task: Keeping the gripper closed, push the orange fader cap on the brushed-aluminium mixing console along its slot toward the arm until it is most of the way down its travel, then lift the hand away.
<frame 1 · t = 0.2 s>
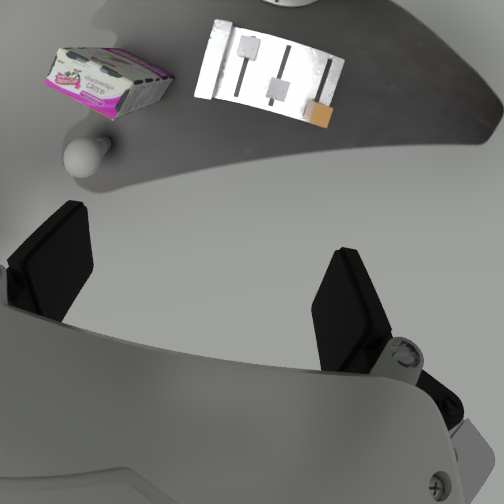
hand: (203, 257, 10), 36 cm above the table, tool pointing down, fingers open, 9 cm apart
lightbulb: (107, 142, 42), on the table
fader cap: (317, 112, 35), point 5 cm above the table, slide at 0.0 cm
console: (272, 73, 36), on the table
candy bar box: (139, 74, 36), on the table
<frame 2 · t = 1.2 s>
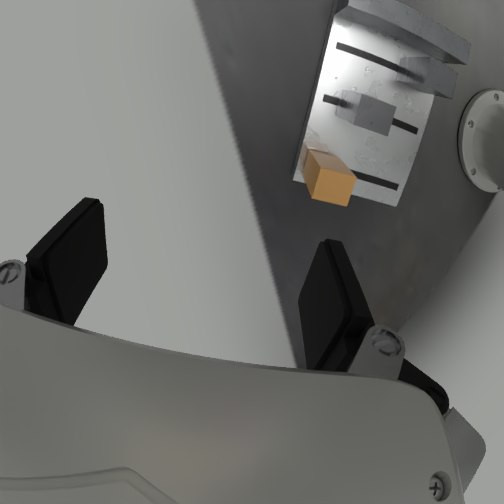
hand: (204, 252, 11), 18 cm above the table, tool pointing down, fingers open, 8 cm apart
fader cap: (327, 175, 22), point 5 cm above the table, slide at 0.0 cm
console: (369, 101, 23), on the table
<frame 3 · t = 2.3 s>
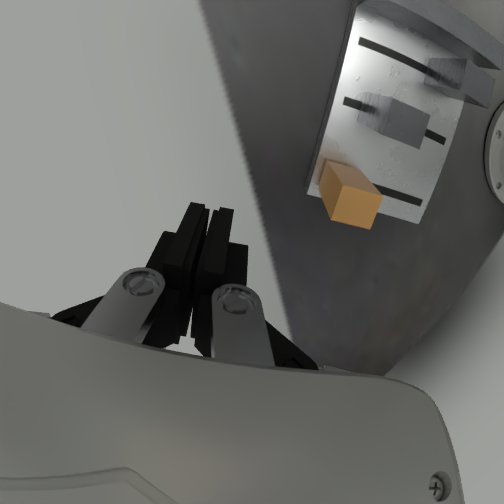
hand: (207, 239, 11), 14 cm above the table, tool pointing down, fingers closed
fader cap: (347, 191, 19), point 5 cm above the table, slide at 0.0 cm
console: (393, 106, 20), on the table
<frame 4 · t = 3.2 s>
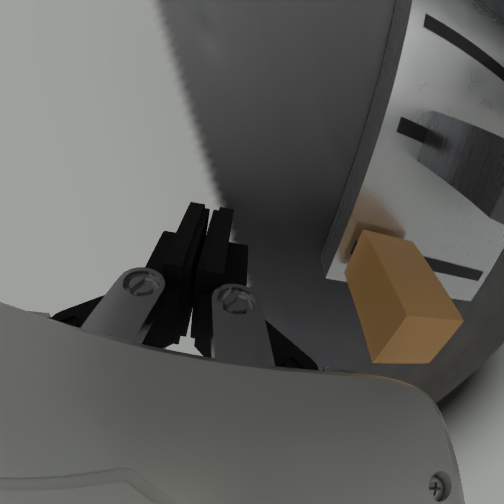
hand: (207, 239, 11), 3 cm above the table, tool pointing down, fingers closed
fader cap: (397, 293, 11), point 5 cm above the table, slide at 0.0 cm
console: (462, 133, 11), on the table
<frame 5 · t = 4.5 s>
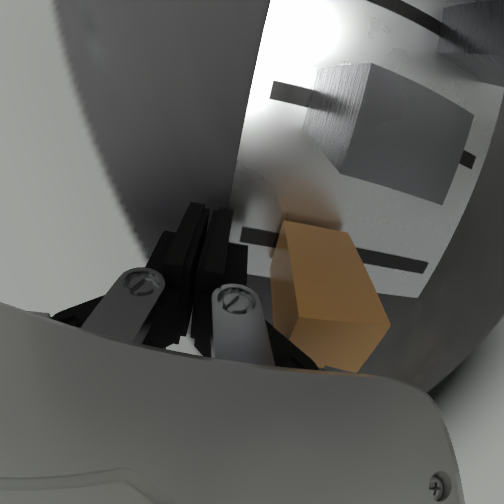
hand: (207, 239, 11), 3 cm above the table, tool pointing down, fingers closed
fader cap: (318, 291, 10), point 5 cm above the table, slide at 1.6 cm, touching gripper
console: (381, 97, 11), on the table
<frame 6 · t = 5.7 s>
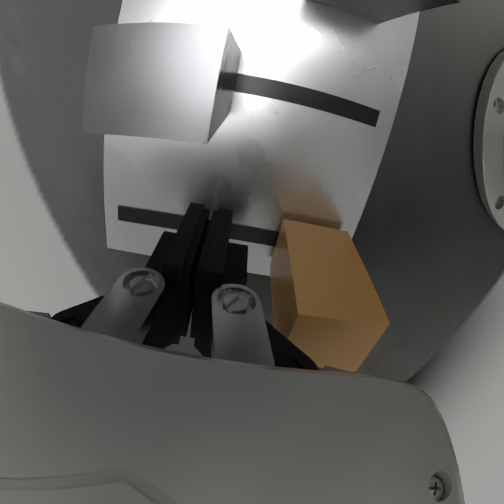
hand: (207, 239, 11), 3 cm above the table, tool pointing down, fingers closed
fader cap: (318, 289, 10), point 5 cm above the table, slide at 7.1 cm, touching gripper
console: (257, 62, 10), on the table
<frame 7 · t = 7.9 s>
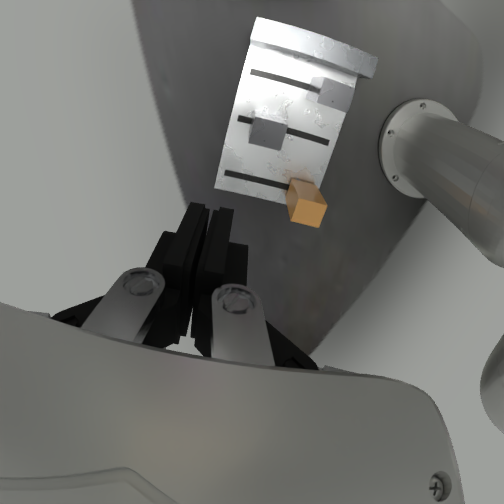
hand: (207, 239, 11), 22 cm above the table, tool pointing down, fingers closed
fader cap: (304, 201, 29), point 5 cm above the table, slide at 7.1 cm
console: (285, 118, 29), on the table
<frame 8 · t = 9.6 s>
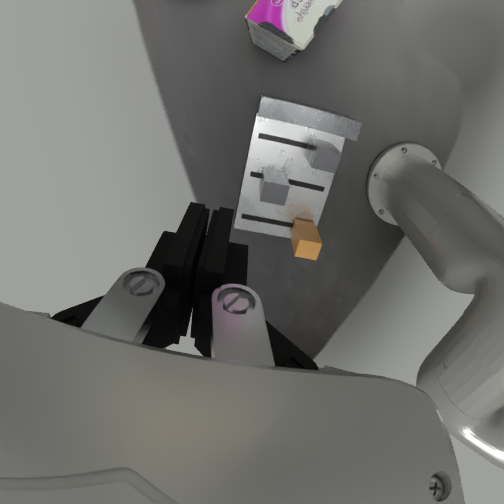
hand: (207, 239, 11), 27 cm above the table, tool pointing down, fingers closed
fader cap: (305, 238, 37), point 5 cm above the table, slide at 7.1 cm
console: (288, 169, 37), on the table
candy bar box: (291, 20, 26), on the table
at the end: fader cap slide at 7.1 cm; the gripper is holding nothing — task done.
